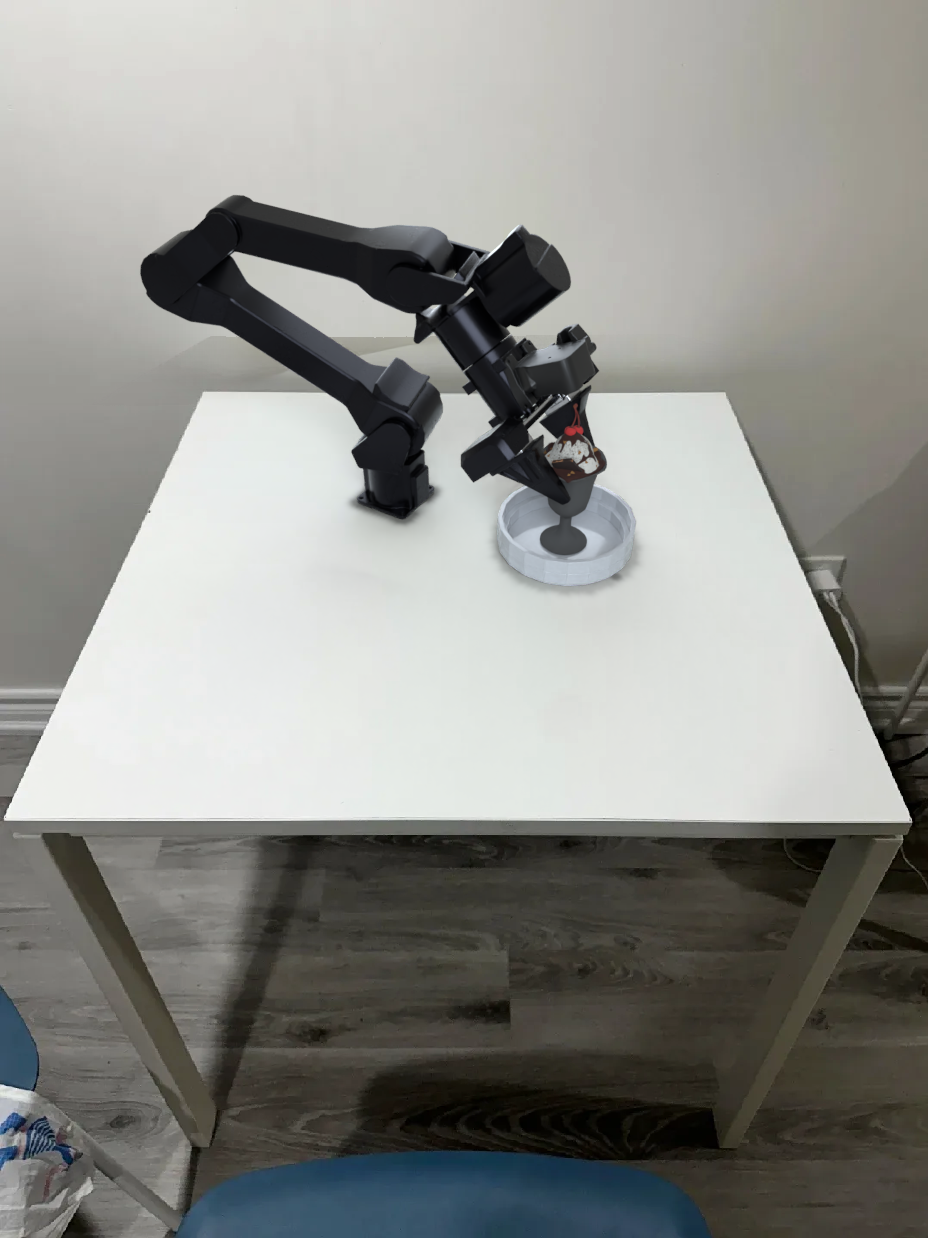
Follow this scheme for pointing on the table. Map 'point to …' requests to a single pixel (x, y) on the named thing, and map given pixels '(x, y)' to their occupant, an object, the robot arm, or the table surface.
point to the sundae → (571, 486)
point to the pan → (600, 522)
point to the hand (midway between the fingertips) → (582, 485)
